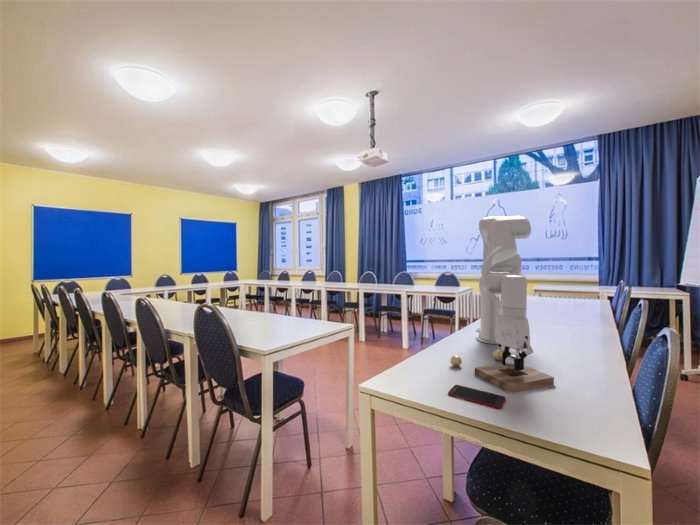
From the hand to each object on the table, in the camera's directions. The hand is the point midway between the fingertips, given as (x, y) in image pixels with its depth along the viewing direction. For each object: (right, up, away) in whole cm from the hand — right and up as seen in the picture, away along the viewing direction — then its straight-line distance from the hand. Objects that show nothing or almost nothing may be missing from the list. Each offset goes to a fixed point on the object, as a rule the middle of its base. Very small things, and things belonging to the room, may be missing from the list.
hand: (512, 366), depth 102 cm
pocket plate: (0, -4, 0) cm, 4 cm away
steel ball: (0, +2, 0) cm, 2 cm away
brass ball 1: (-15, -2, +12) cm, 19 cm away
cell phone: (-17, -5, -12) cm, 21 cm away
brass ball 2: (+4, -2, +19) cm, 19 cm away
